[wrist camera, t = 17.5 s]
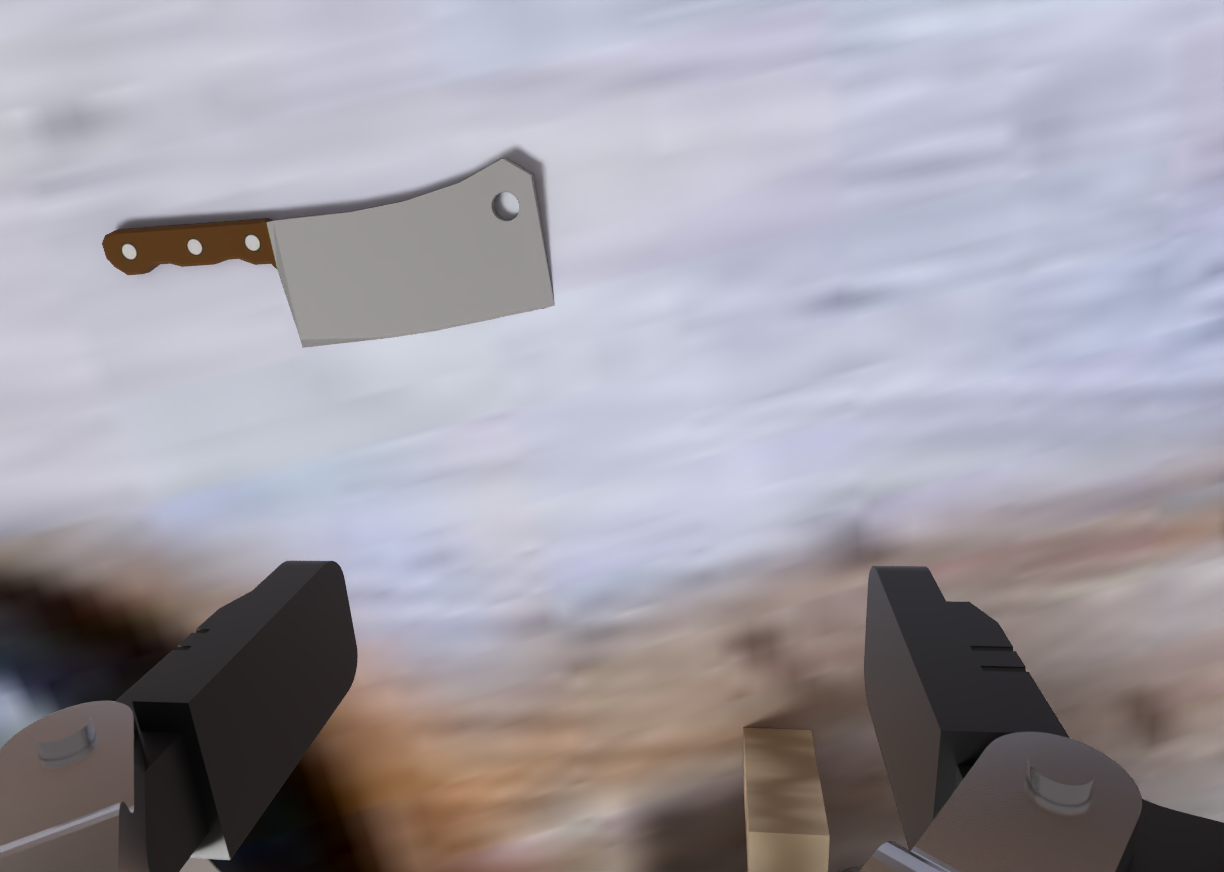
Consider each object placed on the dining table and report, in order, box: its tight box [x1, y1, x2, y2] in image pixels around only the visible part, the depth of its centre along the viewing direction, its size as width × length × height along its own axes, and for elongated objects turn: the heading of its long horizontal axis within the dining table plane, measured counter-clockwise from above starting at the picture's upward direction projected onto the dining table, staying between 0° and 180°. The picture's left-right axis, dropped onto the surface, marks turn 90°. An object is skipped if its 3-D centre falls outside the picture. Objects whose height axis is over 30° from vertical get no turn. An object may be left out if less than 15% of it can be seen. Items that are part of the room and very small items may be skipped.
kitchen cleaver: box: [102, 158, 554, 347], centre depth 42 cm, size 24×1×10 cm
